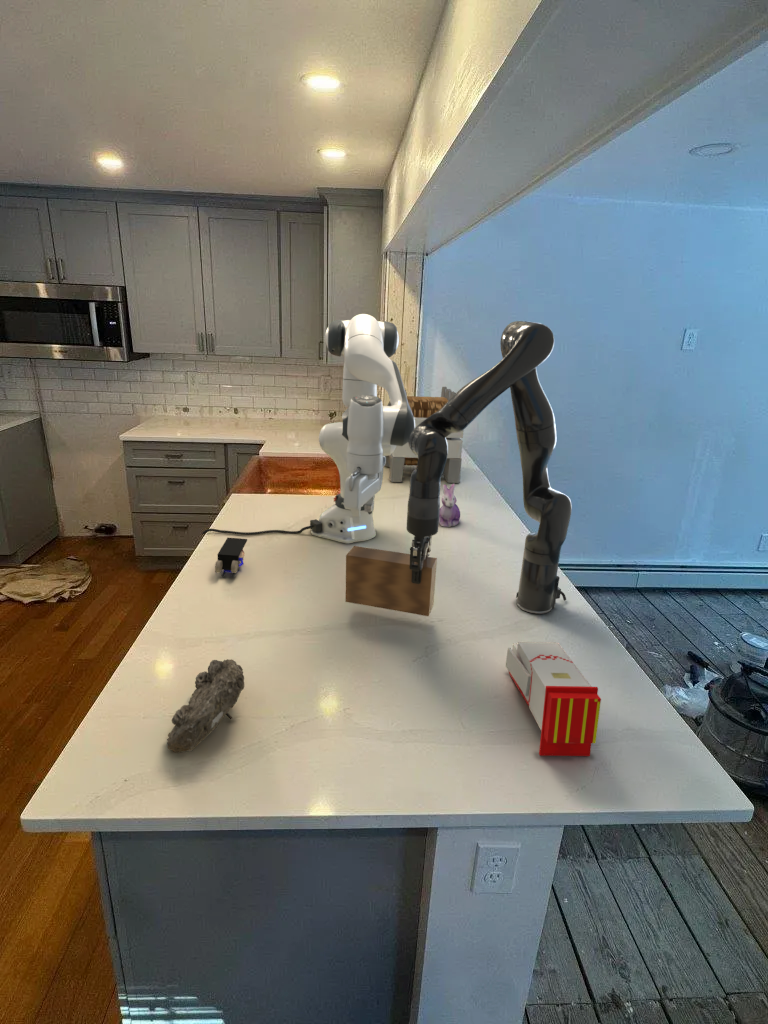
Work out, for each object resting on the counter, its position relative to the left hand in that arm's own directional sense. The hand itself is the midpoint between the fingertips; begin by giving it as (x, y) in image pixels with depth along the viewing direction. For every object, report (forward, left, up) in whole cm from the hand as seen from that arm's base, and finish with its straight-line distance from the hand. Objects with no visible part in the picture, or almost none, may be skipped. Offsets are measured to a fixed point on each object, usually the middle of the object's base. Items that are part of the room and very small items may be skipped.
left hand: (362, 516), depth 143 cm
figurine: (+12, +70, -25) cm, 75 cm away
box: (+9, -5, -20) cm, 23 cm away
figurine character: (-42, +6, -25) cm, 49 cm away
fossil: (-13, -51, -25) cm, 58 cm away
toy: (+48, -27, -25) cm, 60 cm away
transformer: (-13, +132, -25) cm, 135 cm away
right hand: (+16, -5, -12) cm, 21 cm away
